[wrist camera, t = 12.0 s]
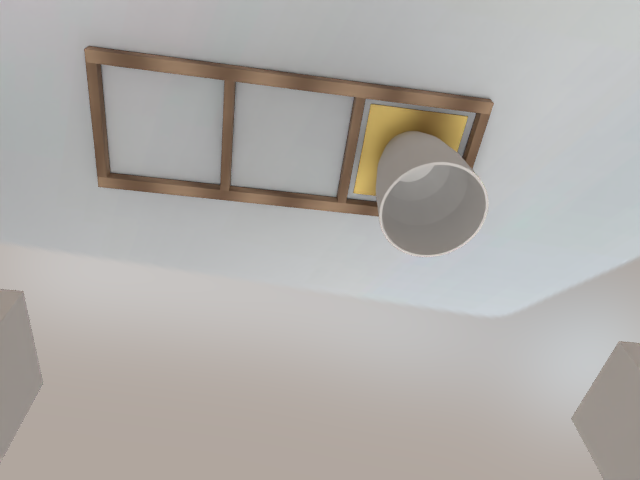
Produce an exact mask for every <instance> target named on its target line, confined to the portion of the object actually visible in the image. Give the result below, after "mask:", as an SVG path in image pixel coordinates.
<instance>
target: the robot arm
mask: <svg viewBox="0 0 640 480" xmlns="http://www.w3.org/2000/svg"><path fill="white" fill-rule="evenodd" d="M42 385H43V380H42V375H41V371H40V366H39V362H38V357H37V352H36V348H35V343H34V339H33V334H32V329H31V325H30V320H29V316H28V311H27V307H26V302H25V297H24V293H23V291H16V290H4V289H0V463H1V461H2V459H3V457H4V455H5V453H6V452H7V450H8V448H9V446H10V444H11V442H12V440H13V439H14V437H15V435H16V433H17V431H18V429H19V427H20V425H21V424H22V422H23V420H24V418H25V416H26V414H27V412H28V411H29V409H30V407H31V405H32V403H33V401H34V399H35V397H36V396H37V394H38V392H39V390H40V388H41V386H42ZM571 419H572V421H573V423H574V425H575V426H576V428H577V430H578V432H579V434H580V436H581V438H582V440H583V442H584V443H585V445H586V447H587V449H588V451H589V453H590V455H591V457H592V459H593V461H594V462H595V464H596V466H597V468H598V470H599V472H600V474H601V476H602V478H603V479H604V480H640V343H634V342H622V341H619V342H618V344H617V345H616V347H615V349H614V350H613V352H612V353H611V355H610V357H609V358H608V360H607V361H606V363H605V365H604V366H603V368H602V369H601V371H600V373H599V375H598V376H597V378H596V379H595V381H594V382H593V384H592V386H591V387H590V389H589V391H588V392H587V394H586V395H585V397H584V399H583V400H582V402H581V403H580V405H579V407H578V408H577V410H576V412H575V413H574V415H573V416H572V418H571Z"/></svg>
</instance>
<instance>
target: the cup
mask: <svg viewBox="0 0 640 480" xmlns="http://www.w3.org/2000/svg"><path fill="white" fill-rule="evenodd" d="M376 199H377V206H378V214H379V221H380V226H381V229H382V232H383V234H384V236H385V237H386V239H387V240H388V241H389V242H390V243H391V244H392V245H393V246H394V247H395V248H397V249H398V250H400V251H402V252H404V253H406V254H409V255H413V256H418V257H434V256H440V255H444V254H447V253H450V252H452V251H455V250H457V249H459V248H460V247H462V246H463V245H465V244H466V243H468V242H469V241H470V240H471V239H472V238H473V237H474V236H475V235H476V234H477V233H478V231H479V230H480V228H481V227H482V225H483V223H484V221H485V219H486V216H487V212H488V194H487V191H486V188H485V186H484V184H483V182H482V181H481V180H480V178H479V177H478V176H477V175H476V174H475V172H474V171H473V170H472V169H471V168H470V166H469V165H468V164H467V163H466V162H465V160H464V159H463V158H462V157H461V156H460V155H459V154H458V153H457V152H456V151H455V150H453V149H452V148H451V147H449V146H448V145H447V144H445V143H444V142H443V141H441V140H440V139H439V138H437V137H435V136H432V135H429V134H426V133H422V132H419V131H407V132H403V133H401V134H398V135H397V136H395V137H394V138H392V139H391V140H390V141H389V142H388V144H387V145H386V147H385V149H384V151H383V153H382V155H381V158H380V160H379V163H378V168H377V179H376Z"/></svg>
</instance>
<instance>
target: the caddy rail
mask: <svg viewBox="0 0 640 480" xmlns="http://www.w3.org/2000/svg"><path fill="white" fill-rule="evenodd" d="M84 51H85V61H86V71H87V80H88V90H89V100H90V109H91V119H92V129H93V138H94V148H95V158H96V167H97V177H98V187H105V188H115V189H124V190H133V191H143V192H152V193H162V194H171V195H181V196H190V197H200V198H209V199H219V200H228V201H238V202H247V203H257V204H266V205H276V206H285V207H295V208H304V209H314V210H323V211H332V212H342V213H351V214H361V215H370V216H379V214H378V206H377V202H374V201H365V200H355V199H347V194H348V189H349V184H350V178H351V173H352V168H353V163H354V157H355V152H356V147H357V141H358V136H359V131H360V126H361V120H362V115H363V110H364V105H365V99H374V100H382V101H389V102H397V103H405V104H413V105H420V106H428V107H436V108H443V109H451V110H459V111H467V112H474V113H476V117H475V120H474V123H473V126H472V129H471V133H470V136H469V139H468V142H467V145H466V149H465V152H464V155H463V159H464V160H465V162H466V163H467V164H468V165H469V166H470V168H471V169H472V168H473V165H474V162H475V159H476V156H477V153H478V150H479V147H480V144H481V141H482V138H483V135H484V132H485V129H486V126H487V123H488V120H489V116H490V113H491V110H492V107H493V104H494V103H493V102H492V101H491V100H490V99H484V98H476V97H469V96H461V95H454V94H446V93H439V92H431V91H424V90H416V89H409V88H401V87H393V86H386V85H378V84H371V83H363V82H356V81H348V80H341V79H333V78H326V77H318V76H310V75H303V74H295V73H288V72H280V71H273V70H265V69H258V68H250V67H243V66H235V65H227V64H220V63H212V62H205V61H197V60H190V59H182V58H175V57H167V56H160V55H152V54H144V53H137V52H129V51H122V50H114V49H107V48H99V47H92V46H88V47H87V48H85V49H84ZM101 64H103V65H111V66H119V67H126V68H134V69H142V70H150V71H157V72H165V73H173V74H181V75H188V76H196V77H204V78H211V79H219V80H225V81H224V107H223V132H222V157H221V183H220V185H217V184H208V183H199V182H189V181H180V180H171V179H162V178H152V177H143V176H134V175H125V174H116V173H110V165H109V153H108V142H107V131H106V119H105V108H104V97H103V85H102V74H101ZM236 82H242V83H250V84H258V85H266V86H273V87H281V88H289V89H297V90H304V91H312V92H320V93H327V94H335V95H343V96H351V97H354V103H353V108H352V114H351V119H350V125H349V131H348V136H347V142H346V148H345V153H344V159H343V164H342V170H341V176H340V181H339V187H338V193H337V197H328V196H318V195H309V194H300V193H291V192H282V191H272V190H263V189H254V188H245V187H235V186H230V182H231V163H232V143H233V124H234V104H235V84H236ZM467 118H468V116H462V115H454V114H446V113H438V112H431V111H423V110H415V109H407V108H399V107H392V106H384V105H376V104H371V106H370V111H369V116H368V121H367V126H366V131H365V136H364V142H363V147H362V152H361V157H360V162H359V167H358V172H357V177H356V182H355V187H354V192H353V193H356V194H365V195H374V196H376V179H377V168H378V163H379V160H380V158H381V155H382V153H383V151H384V149H385V147H386V145H387V144H388V142H389V141H390V140H391V139H392V138H394V137H395V136H397V135H398V134H401V133H403V132H407V131H419V132H422V133H426V134H429V135H432V136H435V137H437V138H439V139H440V140H441V141H443V142H444V143H445V144H447V145H448V146H449V147H451V148H452V149H453V150H455V151H456V152H457V151H458V148H459V145H460V141H461V138H462V135H463V131H464V128H465V125H466V122H467Z"/></svg>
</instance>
